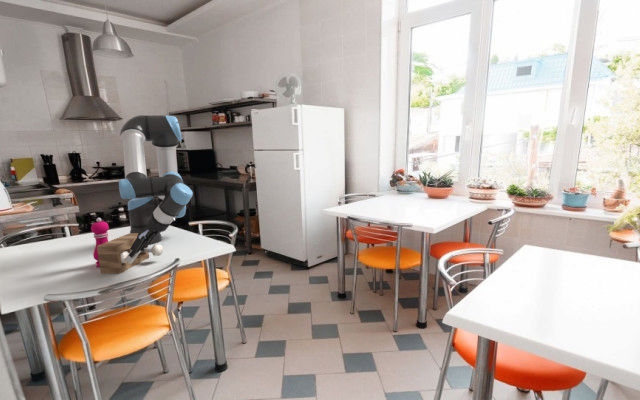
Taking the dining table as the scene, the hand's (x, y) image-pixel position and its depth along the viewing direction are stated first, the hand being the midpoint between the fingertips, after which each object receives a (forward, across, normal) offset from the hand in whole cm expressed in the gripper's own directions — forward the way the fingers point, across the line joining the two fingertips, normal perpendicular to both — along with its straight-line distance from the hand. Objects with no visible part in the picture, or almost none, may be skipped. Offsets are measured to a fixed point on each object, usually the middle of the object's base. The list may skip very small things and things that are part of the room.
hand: (128, 261), depth 128 cm
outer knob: (+4, 0, +3) cm, 5 cm away
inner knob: (-2, +9, -3) cm, 10 cm away
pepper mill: (+12, +5, +8) cm, 16 cm away
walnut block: (+6, +5, +1) cm, 8 cm away
